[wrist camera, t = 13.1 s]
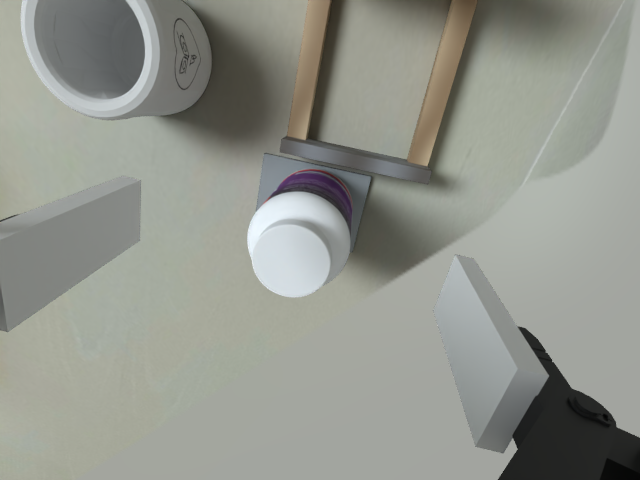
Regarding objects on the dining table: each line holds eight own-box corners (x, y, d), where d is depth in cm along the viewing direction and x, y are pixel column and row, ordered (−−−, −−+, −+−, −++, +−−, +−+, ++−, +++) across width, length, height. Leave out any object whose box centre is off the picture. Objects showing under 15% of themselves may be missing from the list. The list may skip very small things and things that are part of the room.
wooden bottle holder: (287, 146, 38) (263, 163, 28) (323, -79, 31) (307, -154, 21) (421, 175, 37) (441, 201, 28) (487, -46, 30) (543, -108, 21)
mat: (254, 229, 41) (253, 230, 41) (264, 152, 38) (263, 153, 38) (352, 251, 41) (352, 252, 40) (371, 176, 38) (371, 176, 37)
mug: (213, 120, 37) (164, 129, 28) (110, 108, 38) (29, 111, 29) (214, -42, 33) (155, -97, 23) (95, -54, 33) (-8, -112, 24)
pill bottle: (276, 163, 38) (229, 200, 24) (355, 168, 37) (353, 208, 24) (276, 238, 41) (235, 308, 27) (350, 244, 40) (345, 317, 27)
